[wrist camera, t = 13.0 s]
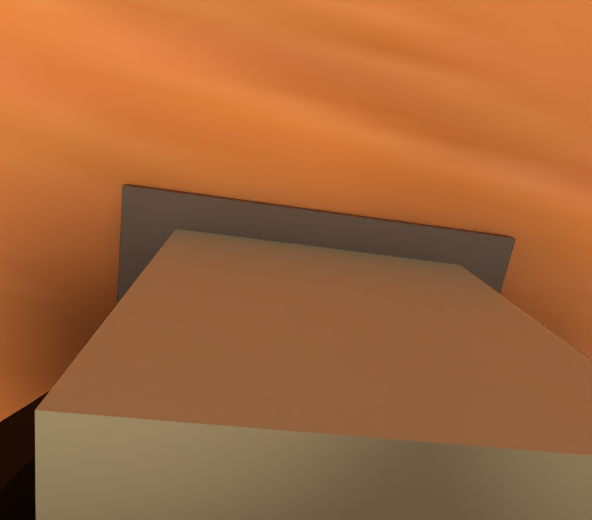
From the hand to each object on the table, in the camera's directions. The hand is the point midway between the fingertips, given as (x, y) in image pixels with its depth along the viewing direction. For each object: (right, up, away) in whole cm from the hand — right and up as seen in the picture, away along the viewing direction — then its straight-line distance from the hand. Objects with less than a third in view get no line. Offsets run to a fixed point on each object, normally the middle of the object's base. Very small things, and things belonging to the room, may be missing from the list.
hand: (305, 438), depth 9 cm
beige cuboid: (0, 0, +2) cm, 2 cm away
